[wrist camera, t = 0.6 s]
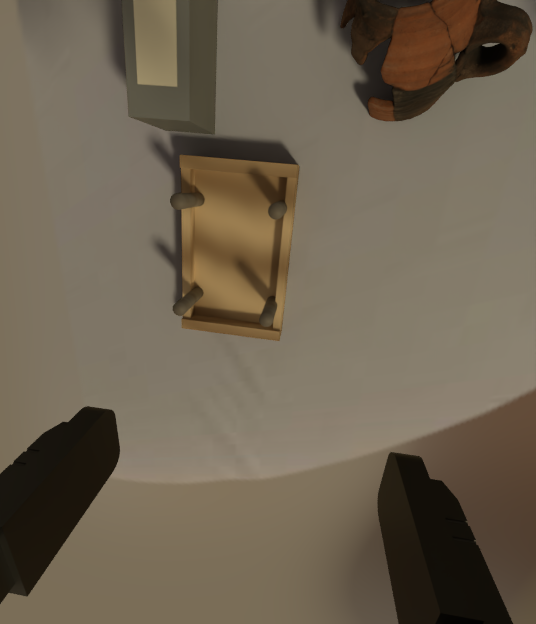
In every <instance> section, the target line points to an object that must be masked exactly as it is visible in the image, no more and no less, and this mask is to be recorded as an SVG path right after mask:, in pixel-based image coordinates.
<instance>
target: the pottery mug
mask: <svg viewBox="0 0 536 624" xmlns="http://www.w3.org/2000/svg"><path fill="white" fill-rule="evenodd" d="M353 17H354V20H353V23H352V29H351V39H352V49H351V54H352V56H353V58H354V59H355V60H356V62H357V63H358V64H359V65H363V64H364V62H365V60H366V58H367V55H368V53H369V52H371V51H372V50H373V49H374V48H375V47H376V46H378V45H379V44H380V43H381V42H384V41H385V40H387V39H388V38H391V41H390V43H389V46H388V50H387V54H386V57H385V59H384V63H383V65H382V68H381V74H382V78H383V80H384V82H385V83H387V84H389V85H392V86H393V88H392V93H393V98H394V101H390V100H382V99H379V98H375V97H370V98H369V100H368V107H369V114H370V116H371V117H373V118H375V119H378V120H383V121H402V120H407V119H411V118H413V117H416V116H418V115H420V114H422V113H424V112H425V111H427V110H428V109H429V108H430V107H431V106H432V105H433V104H434V103H435V102H436V101H437V100H438V99H439V98H440V97H441V96H442V95H443V94H444V93H445V92H446V90H448V88H449V87H450V86H451V85H453V84H454V82H458V81H460V80H463V79H466V78H473V77H485V76H490V75H495V74H497V73H500V72H502V71H504V70H506V69H508V68H509V67H510V66H511V65H513V64H514V63H515V62H516V61H517V60H518V59H519V58H520V57H521V56H523V55H524V54H525V53H526V51H527V47H528V43H529V40H530V35H531V33H532V23H531V20H530V18H529V16H528V14H527V13H526V12H525V11H524V10H522V9H521V8H518V7H516V6H511V5H507V4H504V3H501V2H498V1H497V0H433V1H431V2H430V3H424V4H421V5H417V6H410V7H401V8H396V7H392V6H388V5H385V4H382V3H380V2H378V1H377V0H348V1H347V3H346V6H345V9H344V12H343V15H342V20H341V25H340V27H341V28H345V27H346V25H347V23H348V22H349V20H351V19H352V18H353ZM486 43H500V44H497V45H495V46H492V47H484V46H482V45H483V44H486ZM458 52H460V54H459V56H458V58H457V59H456V61H455V56H454V55H455V54H456V53H458Z"/></svg>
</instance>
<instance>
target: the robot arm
mask: <svg viewBox="0 0 536 624" xmlns="http://www.w3.org/2000/svg"><path fill="white" fill-rule="evenodd" d="M119 454H120V446H119V439H118V432H117V425H116V418H115V413H114V411H112V410H109V409H102V408H95V407H89V406H87V407H84V408H82V409H81V410H80V411H79V412H78V413H77V414H76V415H75V416H74V417H73V418H72V419H71V420H70V421H69V422H62V423H60V424H59V425H57V426H55V427H53V428H52V429H50V430H48V431H46V432H45V433H44V434H42V435H41V436H40V437H39V438H38V439H37V440H36V441H35V442H34V443H33V444H31V445H30V447H28V448H27V451H26V452H23V453H22V454H21V455H20V456H19V457H18V458H17V459H16V460H15V461H14V463H13V464H12V465H9V466H8V467H7V468H6V469H5V470H4V471H3V472H2V473H1V474H0V604H1V602H2V601H3V599H4V598H5V597H6V595H7V594H8V593H14V594H18V595H23V596H28V595H29V593H30V592H31V590H32V589H33V588H34V586H35V585H36V583H37V581H38V580H39V579H40V577H41V576H42V574H43V573H44V571H45V570H46V569H47V567H48V566H49V564H50V563H51V561H52V560H53V558H54V557H55V555H56V554H57V553H58V551H59V550H60V548H61V547H62V545H63V544H64V542H65V541H66V539H67V538H68V536H69V535H70V533H71V532H72V531H73V529H74V528H75V526H76V525H77V523H78V522H79V520H80V519H81V518H82V516H83V515H84V513H85V512H86V510H87V509H88V507H89V506H90V504H91V503H92V501H93V500H94V499H95V497H96V496H97V494H98V493H99V491H100V490H101V488H102V487H103V485H104V484H105V482H106V481H107V479H108V478H109V477H110V475H111V474H112V472H113V471H114V469H115V467H116V465H117V462H118V459H119ZM378 516H379V522H380V526H381V532H382V538H383V542H384V548H385V554H386V559H387V564H388V569H389V575H390V579H391V585H392V591H393V596H394V601H395V606H396V612H397V617H398V622H399V624H513V623H512V621H511V618H510V616H509V614H508V612H507V609H506V607H505V605H504V602H503V600H502V598H501V596H500V593H499V591H498V589H497V587H496V584H495V582H494V580H493V578H492V575H491V573H490V571H489V569H488V566H487V564H486V562H485V560H484V557H483V555H482V553H481V551H480V548H479V546H478V545H476V539H475V537H474V535H473V533H472V530H471V528H470V526H468V524H467V522H468V521H467V519H466V517H465V515H464V512H463V510H462V508H461V506H460V503H459V501H458V500H457V498H456V497H455V496H454V495H453V494H452V493H451V491H450V490H449V489H448V488H447V486H446V485H445V484H444V483H443V482H442V481H440V480H433V479H430V478H429V475H428V472H427V470H426V467H425V465H424V462H423V460H422V458H421V457H420V456H414V455H407V454H401V453H394V452H391V453H390V454H389V456H388V459H387V463H386V466H385V470H384V473H383V477H382V481H381V484H380V488H379V493H378Z"/></svg>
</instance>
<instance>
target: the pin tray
mask: <svg viewBox="0 0 536 624" xmlns="http://www.w3.org/2000/svg"><path fill="white" fill-rule="evenodd" d="M180 168H181V193H176V194H173V195H172V196H171V199H170V203H171V205H172V207H173V208H174V209H177V210H180V209H182V291H183V297H182V298H181V299H180V300H179V301H178V302H177V303H175V304H174V306H173V311H174V313H175V314H176V315H178V316H182V315H183V318H182V328H185V329H193V330H200V331H208V332H215V333H223V334H230V335H238V336H245V337H253V338H260V339H268V340H275V341H279V340H280V335H281V331H282V322H283V313H284V304H285V294H286V285H287V276H288V267H289V258H290V249H291V240H292V231H293V222H294V212H295V203H296V194H297V185H298V176H299V165H293V164H282V163H270V162H258V161H247V160H235V159H223V158H212V157H200V156H188V155H180Z"/></svg>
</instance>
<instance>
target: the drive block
mask: <svg viewBox="0 0 536 624" xmlns="http://www.w3.org/2000/svg"><path fill="white" fill-rule="evenodd" d="M121 1H122V17H123V33H124V50H125V66H126V82H127V98H128V115H129V117H131V118H134V119H136V120H139V121H142V122H144V123H147V124H150V125H152V126H155V127H158V128H160V129H163V130H166V131H178V132H190V133H203V134H215V101H216V56H217V12H218V0H121Z"/></svg>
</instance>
